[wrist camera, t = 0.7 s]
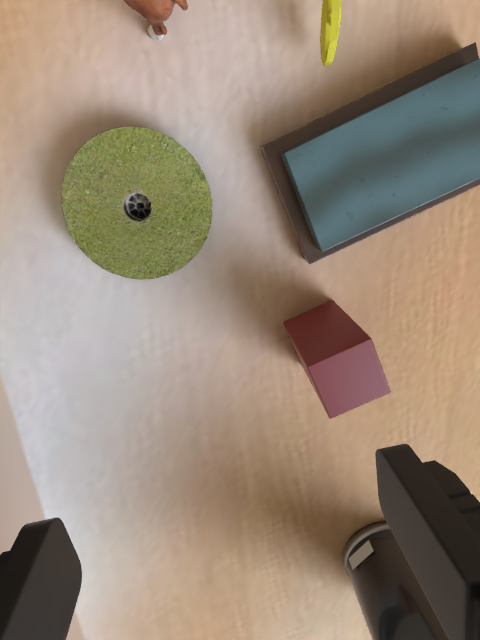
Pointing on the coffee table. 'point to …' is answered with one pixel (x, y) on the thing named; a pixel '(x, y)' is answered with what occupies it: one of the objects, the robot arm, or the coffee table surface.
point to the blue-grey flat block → (381, 156)
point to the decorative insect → (330, 29)
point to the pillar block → (337, 358)
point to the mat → (136, 202)
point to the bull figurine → (156, 13)
